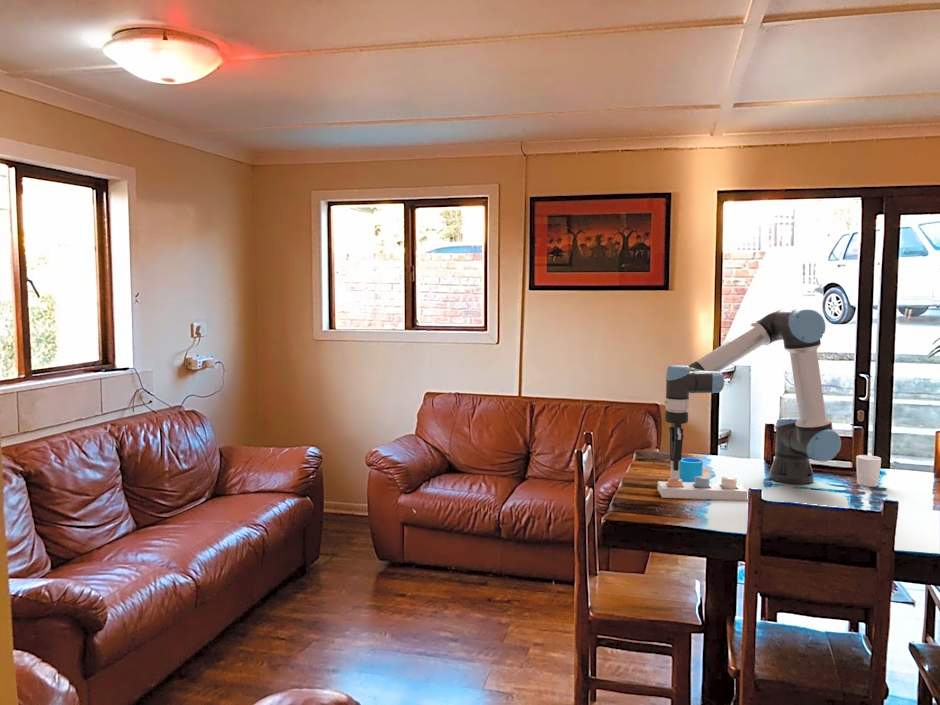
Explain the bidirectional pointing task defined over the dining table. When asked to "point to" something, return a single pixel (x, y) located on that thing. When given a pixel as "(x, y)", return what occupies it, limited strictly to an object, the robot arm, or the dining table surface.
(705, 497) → the button panel
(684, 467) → the mug
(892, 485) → the dining table surface
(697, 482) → the button slate
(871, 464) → the white cup
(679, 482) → the button terracotta
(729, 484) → the button cream
